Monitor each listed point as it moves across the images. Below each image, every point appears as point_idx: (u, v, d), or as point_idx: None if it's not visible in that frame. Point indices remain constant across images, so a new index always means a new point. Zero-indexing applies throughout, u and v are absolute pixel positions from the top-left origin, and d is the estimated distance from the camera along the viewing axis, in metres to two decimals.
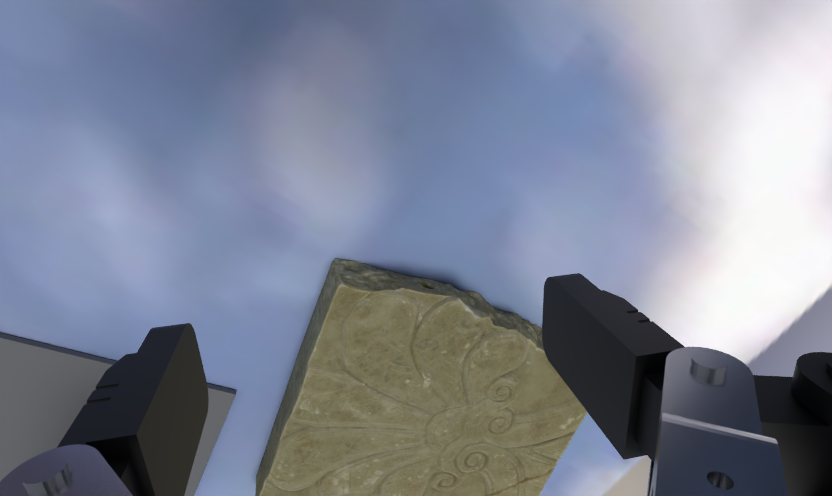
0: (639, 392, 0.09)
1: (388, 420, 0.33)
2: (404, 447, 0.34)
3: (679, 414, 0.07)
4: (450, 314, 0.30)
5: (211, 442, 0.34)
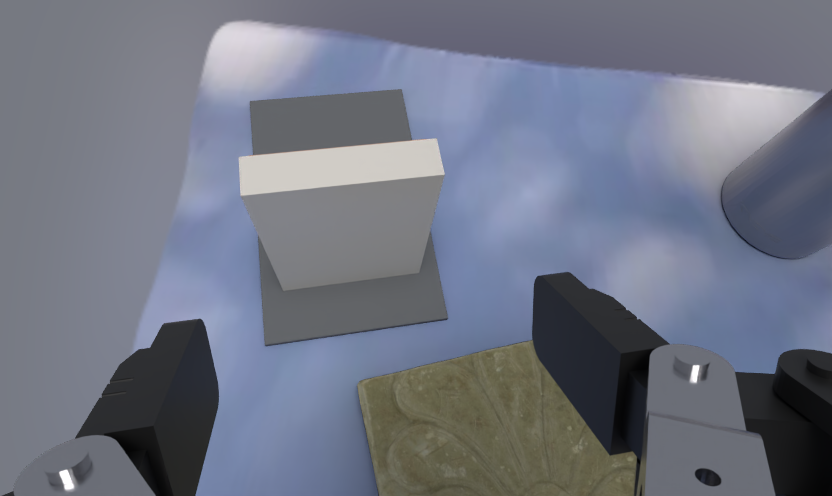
0: (624, 389, 0.09)
1: (522, 438, 0.33)
2: (501, 478, 0.32)
3: (664, 412, 0.07)
4: None
5: (391, 322, 0.37)
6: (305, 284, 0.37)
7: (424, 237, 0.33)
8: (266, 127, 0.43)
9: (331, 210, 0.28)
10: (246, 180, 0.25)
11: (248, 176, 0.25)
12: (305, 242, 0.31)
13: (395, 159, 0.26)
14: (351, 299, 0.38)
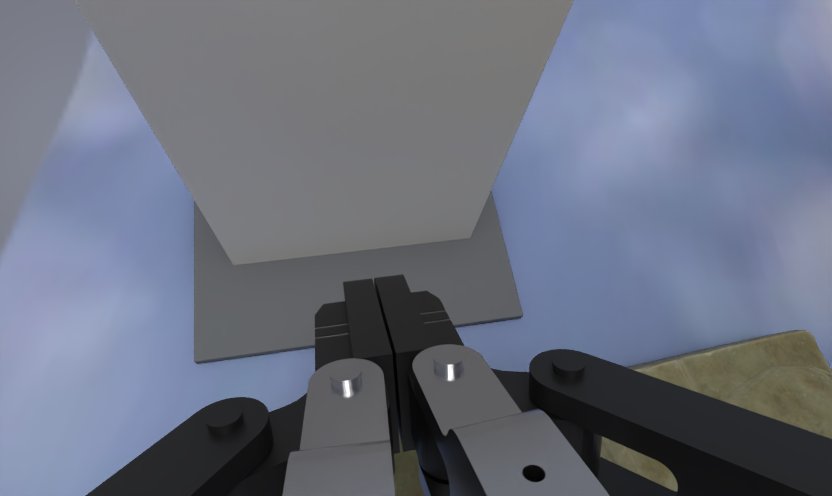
0: (406, 387, 0.09)
1: None
2: None
3: (453, 421, 0.07)
4: None
5: None
6: (272, 253, 0.21)
7: (499, 154, 0.17)
8: None
9: (311, 46, 0.11)
10: None
11: None
12: (258, 147, 0.14)
13: None
14: None
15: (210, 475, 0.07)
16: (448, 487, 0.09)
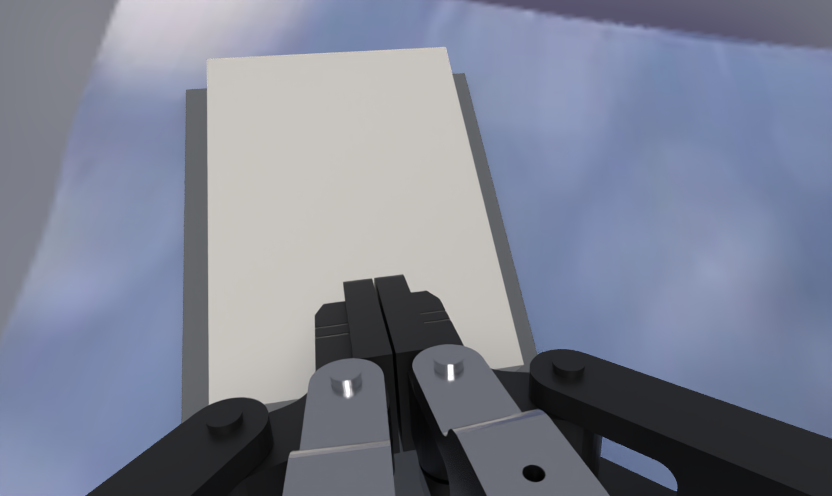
0: (406, 387, 0.09)
1: None
2: None
3: (453, 421, 0.07)
4: None
5: None
6: (264, 379, 0.16)
7: (475, 197, 0.20)
8: None
9: (315, 101, 0.21)
10: None
11: None
12: (275, 181, 0.19)
13: None
14: None
15: (210, 475, 0.07)
16: (448, 487, 0.09)
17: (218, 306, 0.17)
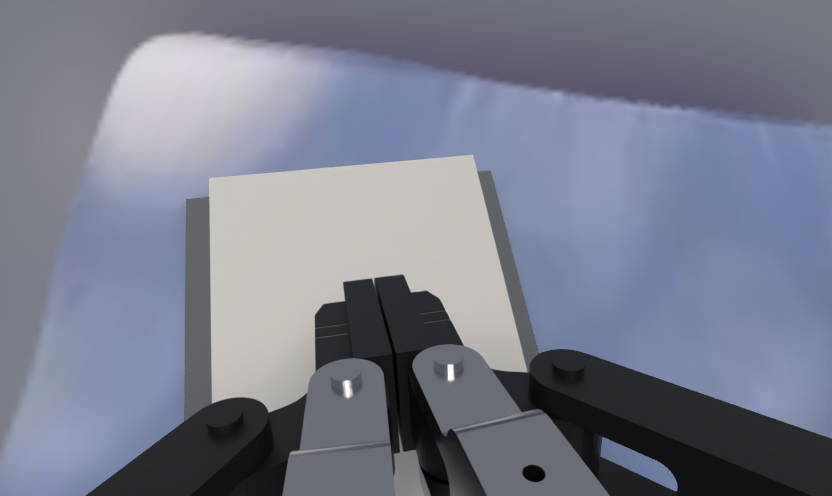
0: (406, 387, 0.09)
1: None
2: None
3: (453, 421, 0.07)
4: None
5: None
6: None
7: (512, 342, 0.18)
8: None
9: (330, 227, 0.19)
10: None
11: None
12: (287, 330, 0.17)
13: None
14: None
15: (210, 475, 0.07)
16: (448, 487, 0.09)
17: None
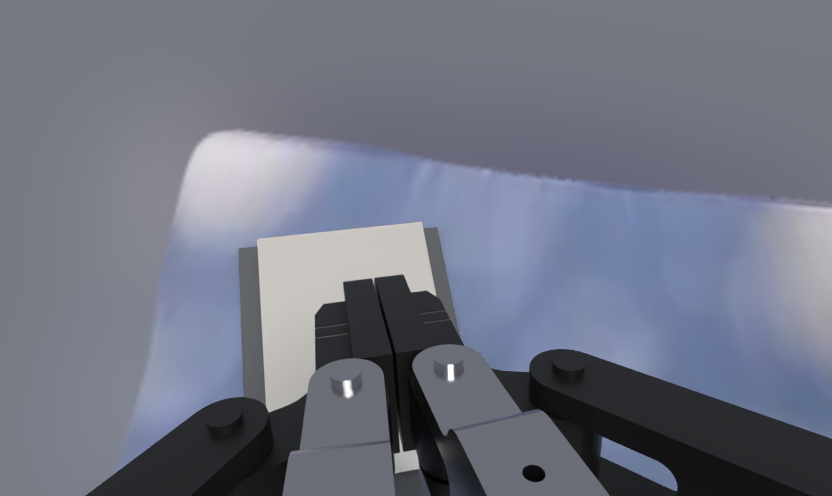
0: (406, 387, 0.09)
1: None
2: None
3: (454, 421, 0.07)
4: None
5: None
6: None
7: None
8: (259, 287, 0.32)
9: (332, 269, 0.31)
10: None
11: None
12: (306, 332, 0.29)
13: None
14: None
15: (210, 475, 0.07)
16: (448, 487, 0.09)
17: None
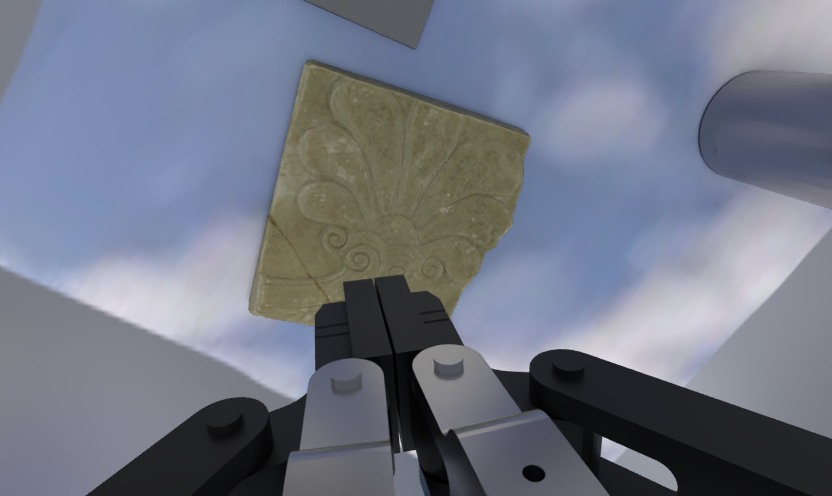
0: (406, 387, 0.09)
1: (410, 182, 0.39)
2: (377, 198, 0.39)
3: (453, 421, 0.07)
4: (504, 219, 0.42)
5: (363, 21, 0.37)
6: None
7: None
8: None
9: None
10: None
11: None
12: None
13: None
14: None
15: (210, 475, 0.07)
16: (448, 487, 0.09)
17: None
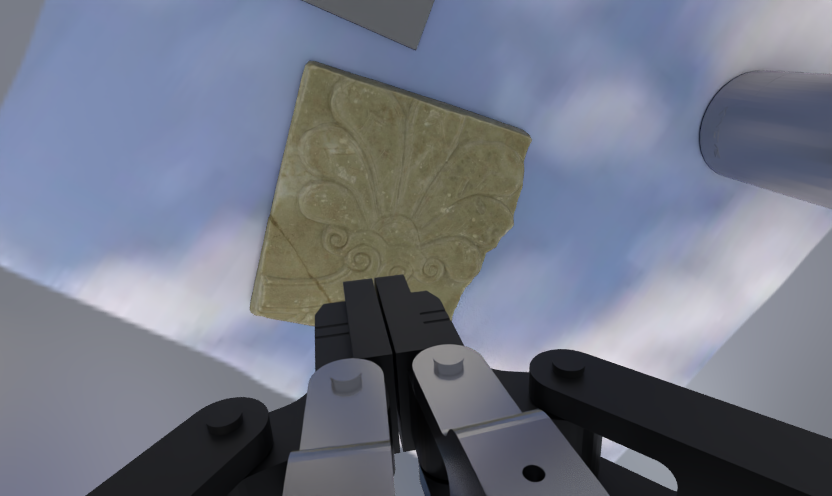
0: (406, 387, 0.09)
1: (411, 182, 0.39)
2: (378, 199, 0.39)
3: (453, 421, 0.07)
4: (504, 219, 0.42)
5: (364, 22, 0.37)
6: None
7: None
8: None
9: None
10: None
11: None
12: None
13: None
14: None
15: (210, 475, 0.07)
16: (448, 487, 0.09)
17: None
